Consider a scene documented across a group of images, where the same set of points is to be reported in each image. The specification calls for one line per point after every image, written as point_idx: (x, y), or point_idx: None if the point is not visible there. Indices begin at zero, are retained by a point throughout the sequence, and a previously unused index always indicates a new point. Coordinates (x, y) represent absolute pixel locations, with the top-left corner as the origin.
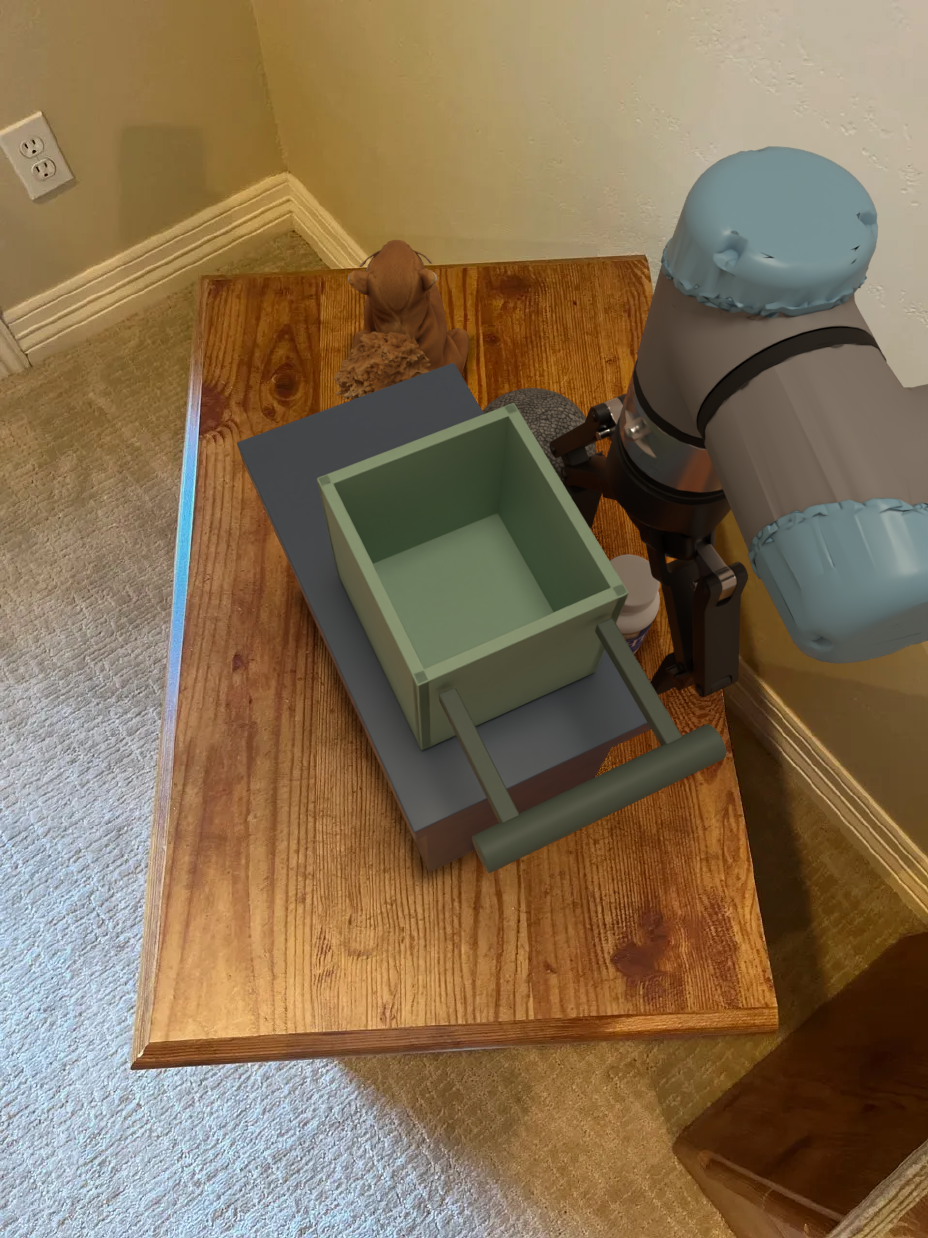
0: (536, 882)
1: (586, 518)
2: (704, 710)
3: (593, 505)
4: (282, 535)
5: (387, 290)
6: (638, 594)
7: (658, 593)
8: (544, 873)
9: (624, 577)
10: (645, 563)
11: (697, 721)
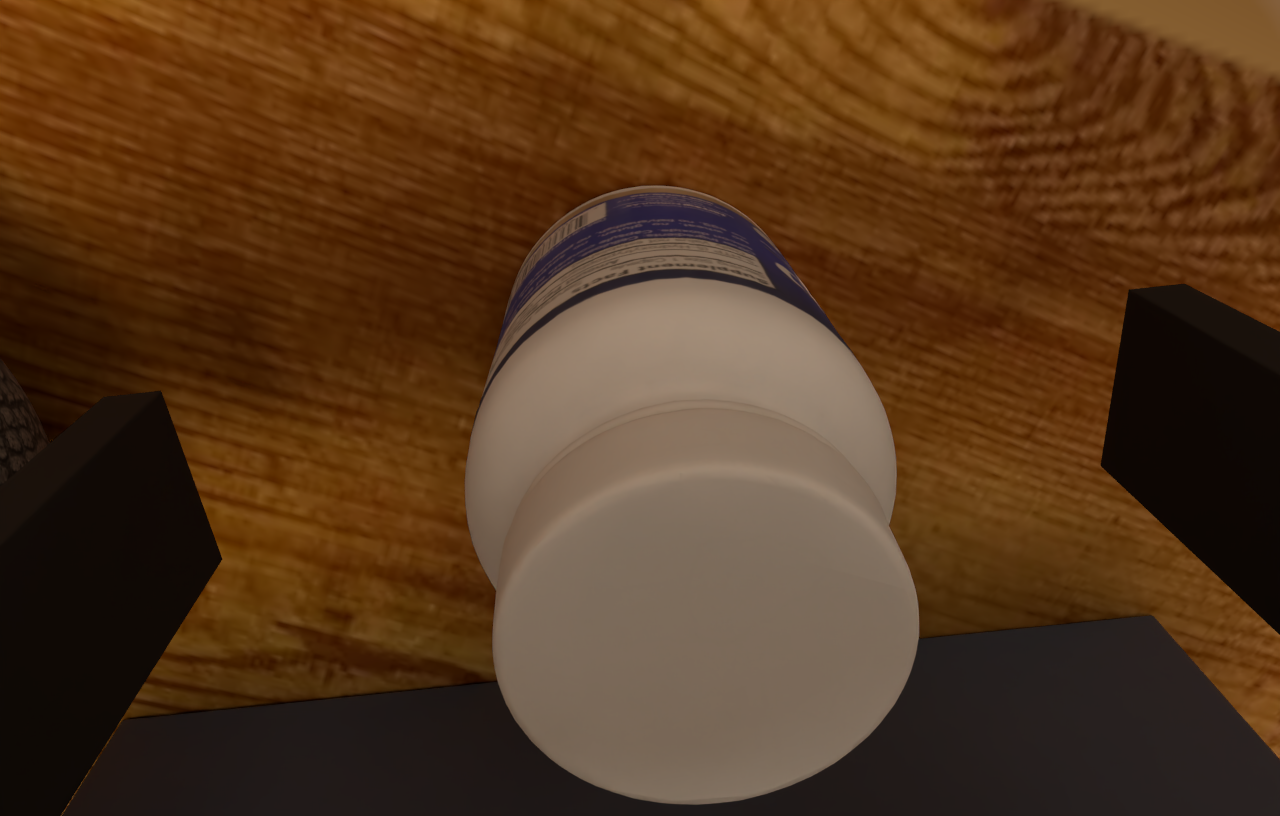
0: None
1: (105, 522)
2: (1145, 83)
3: (10, 594)
4: None
5: None
6: (839, 652)
7: (751, 318)
8: None
9: (677, 688)
10: (622, 523)
11: (1166, 136)
